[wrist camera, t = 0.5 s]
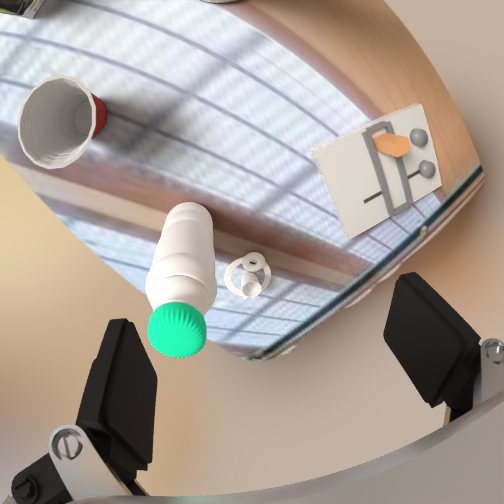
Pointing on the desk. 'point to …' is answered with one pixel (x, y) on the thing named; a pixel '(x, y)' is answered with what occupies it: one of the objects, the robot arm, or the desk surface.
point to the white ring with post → (249, 275)
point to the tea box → (20, 7)
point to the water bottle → (182, 281)
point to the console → (378, 170)
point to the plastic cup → (59, 121)
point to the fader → (392, 144)
